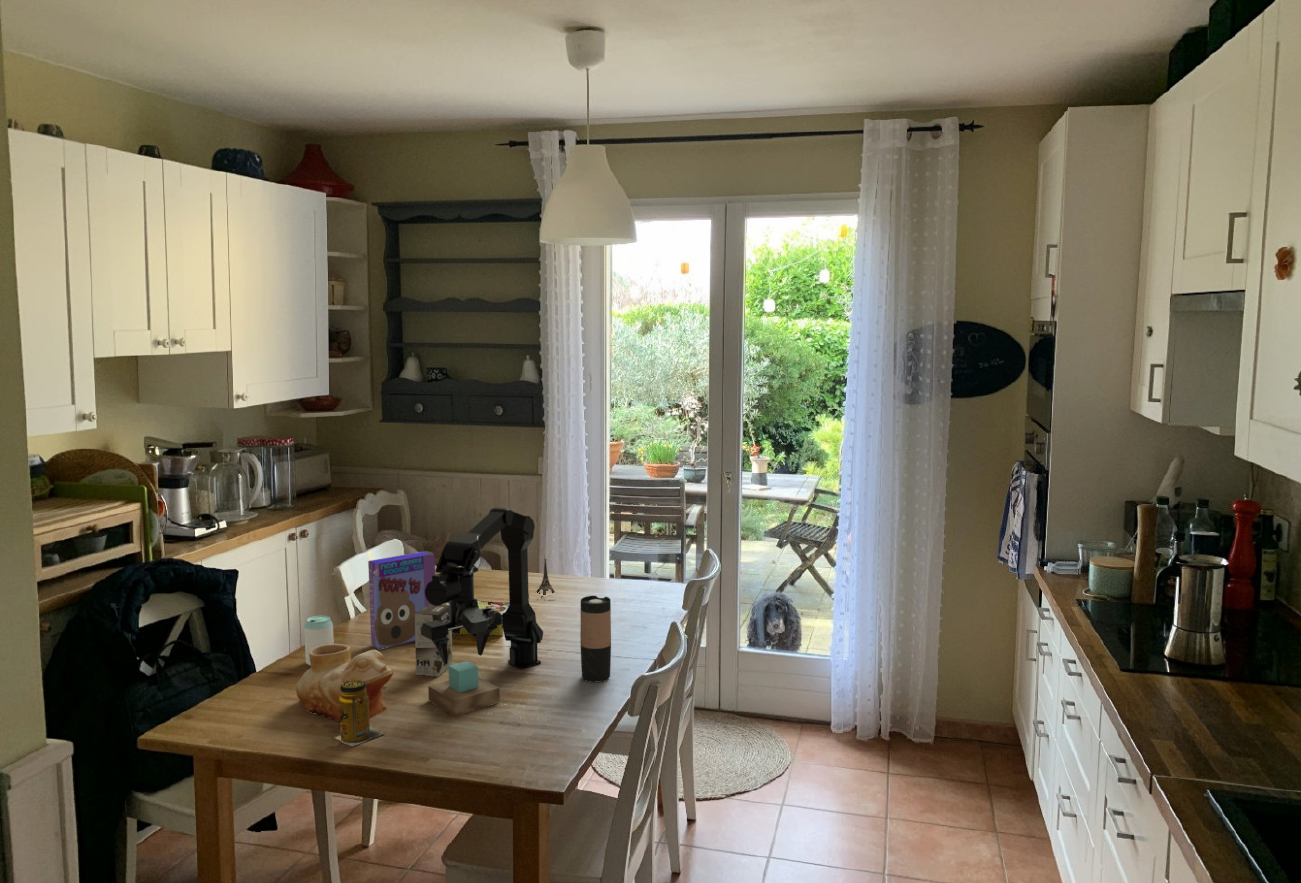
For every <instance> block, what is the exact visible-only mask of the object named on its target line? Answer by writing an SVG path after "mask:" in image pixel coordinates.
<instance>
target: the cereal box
mask: <svg viewBox="0 0 1301 883" xmlns="http://www.w3.org/2000/svg"><path fill="white" fill-rule="evenodd" d="M435 563H436V562H435V553H433V552H432V551H428V550H423V551H418V552H411V553H407V554H401V555H395V556H390V557H383V558H377V559H372V560H368V562H367V564H368V590H369V618H370V621H369V622H370V644H371V645H373V646H374V647H373V646H372V647H373V648H375V647H376V648H375V649H377V648H378V649H381V650H383V649H382V648H385V649H387V648H386V647H389V648H392V647H391V646H394V647H396V646H395V645H398V646H401V645H400V644H402V645H406V644H409V643H415V613H417V612H418V611H420V610H421V609H423V608H424V607H426V606H427V605H429V604H430V603H429V602H428V600H427V599H426V596H425V589H426V586H427V584H428V583H429V582H431V581H432V576H433V575H435V574H436V571H435V570H436V568H435V567H436V564H435ZM378 649H377V650H378Z"/></svg>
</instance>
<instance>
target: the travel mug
mask: <svg viewBox="0 0 1301 883" xmlns="http://www.w3.org/2000/svg"><path fill="white" fill-rule="evenodd" d="M611 605H612V604H611V598H610V597H609V596H604V597H599V596H597V595H587V596H584V597H582V598H581V599H580V630H579V632H580V633H579V634H580V639H579V640H580V644H579V645H580V664H581V665H580V667H581V668H580V669H581V678H582V680H583V681H585V680H587V681H586V682H589V681H591V682H590V683H596V682H595V681H602V682H605V681H604V680H606V681H607V679H608V678H609V677H610V678H611V666H612V665H611V664H612V663H611V661H612V659H611V658H612V655H611V654H612V617H611V616H612V614H611V613H612V610H611V609H612V608H611ZM610 678H609V679H610ZM609 679H608V680H609Z"/></svg>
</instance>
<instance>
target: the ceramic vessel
mask: <svg viewBox="0 0 1301 883" xmlns="http://www.w3.org/2000/svg"><path fill="white" fill-rule="evenodd" d="M309 657H310V663H311V666H310V668H308V669H307V670H306V671H305V672H304V673H303V674H302V675H301V677H300V679H299V680H298V681H297V684H296V686H295V692H296V696H297V698H298V699H299V701H300V703H301V704H302V706H303V708H304V710H305V709H306V710H308V711H309V712H312V713H316V714H315V715H317V714H318V716H319V715H324V716H323V717H325V718H328V717H330V718H329V719H332V720H334V721H337V722H339V723H340V708H339V698H340V696H341V694H340V693H341V689H340V687H341V685H342V684H343V683H345V682H347V681H352V680H361V681H364V682H365V683H366V690H367V691H366V693H367V694H368V699H369V720H370V719H372V718H374V717H376V716H378V715H379V714H381V713H383V712H384V710H385V711H386V710H387V708H388V707H387V705H386V703H385V702H384V699H383V687H384V686H385V685H387V683H388V682H389V681H390V680H391V679H392V677H393V675H394V670H393V669H392V668H390V667H388V666H387V665H386V664H385V657H384V655H383V654H382V653H381V652H380V650H378V649H377V650H376V649H370V650H367V651H365V652H362V653H359V654H357V655H355V656H353V658H352V653H351V647H350V646H348V645H346V644H343V643H342V644H341V643H334V644H327V645H321V646H318V647H315V648H313V649H311V650H310V652H309ZM306 710H305V711H306ZM308 711H307V712H308ZM382 711H383V712H382ZM309 712H308V713H309ZM312 713H311V714H312Z"/></svg>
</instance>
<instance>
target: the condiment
mask: <svg viewBox="0 0 1301 883" xmlns="http://www.w3.org/2000/svg"><path fill="white" fill-rule="evenodd" d="M340 689H341V693H340V694H341V696H340V698H339V708H340V722H339V730H340V731H339V732H340V734H339V735H337V736H341V743H342V744H345V745H348V746H350V747H355V746H357V745H360V744H363V743H365V742H368V741H370V740H372V739H375V738H378V737H380V736H382V735H385V734H386V732H383V731H380V730H377V729H376V728H374V727H372V726H371V725H370V719H369V699H368V694H367V693H366V691H367V690H366V683H365V682H364V681H361V680H352V681H347V682H345V683H343V684H342V685H341V687H340ZM334 739H335V740H337V739H336V738H334ZM338 740H339V739H338ZM338 740H337V741H338ZM342 741H343V742H342Z"/></svg>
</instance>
